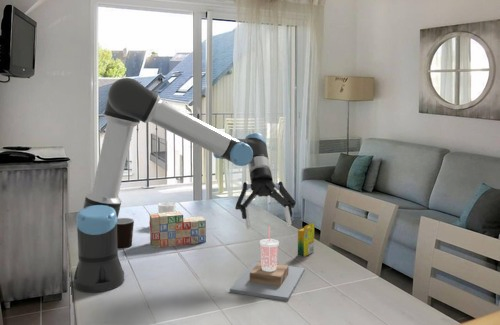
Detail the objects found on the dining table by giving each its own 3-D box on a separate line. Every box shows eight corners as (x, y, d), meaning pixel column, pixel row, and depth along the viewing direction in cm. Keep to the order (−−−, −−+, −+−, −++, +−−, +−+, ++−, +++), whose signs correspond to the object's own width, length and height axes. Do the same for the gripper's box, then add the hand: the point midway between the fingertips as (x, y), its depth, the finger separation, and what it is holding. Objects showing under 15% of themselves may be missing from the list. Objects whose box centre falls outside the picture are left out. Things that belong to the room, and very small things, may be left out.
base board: (288, 301, 132) (288, 297, 132) (229, 292, 138) (229, 288, 138) (304, 271, 155) (304, 268, 155) (253, 264, 161) (253, 261, 160)
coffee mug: (128, 250, 173) (127, 224, 172) (107, 248, 175) (106, 223, 174) (141, 240, 185) (141, 216, 183) (121, 239, 186) (121, 215, 185)
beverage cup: (278, 265, 149) (279, 223, 147) (278, 272, 143) (279, 229, 141) (259, 265, 149) (260, 223, 147) (259, 272, 143) (259, 228, 141)
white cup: (155, 227, 204) (154, 205, 202) (163, 222, 211) (163, 201, 210) (171, 228, 201) (171, 206, 200) (179, 224, 209) (178, 202, 207)
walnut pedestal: (280, 289, 140) (280, 276, 140) (249, 284, 143) (249, 272, 143) (288, 277, 150) (288, 265, 149) (258, 273, 153) (259, 261, 152)
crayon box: (307, 250, 176) (308, 220, 174) (314, 252, 174) (315, 222, 172) (296, 255, 170) (297, 225, 168) (303, 257, 168) (304, 226, 166)
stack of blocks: (202, 238, 190) (202, 209, 188) (206, 242, 184) (206, 212, 182) (149, 243, 182) (149, 213, 181) (152, 248, 177) (151, 217, 175)
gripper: (292, 177, 166) (303, 230, 154) (223, 179, 161) (229, 233, 149) (297, 165, 160) (309, 219, 148) (226, 166, 155) (232, 222, 143)
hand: (269, 226), depth 148 cm, fingers open, 13 cm apart
